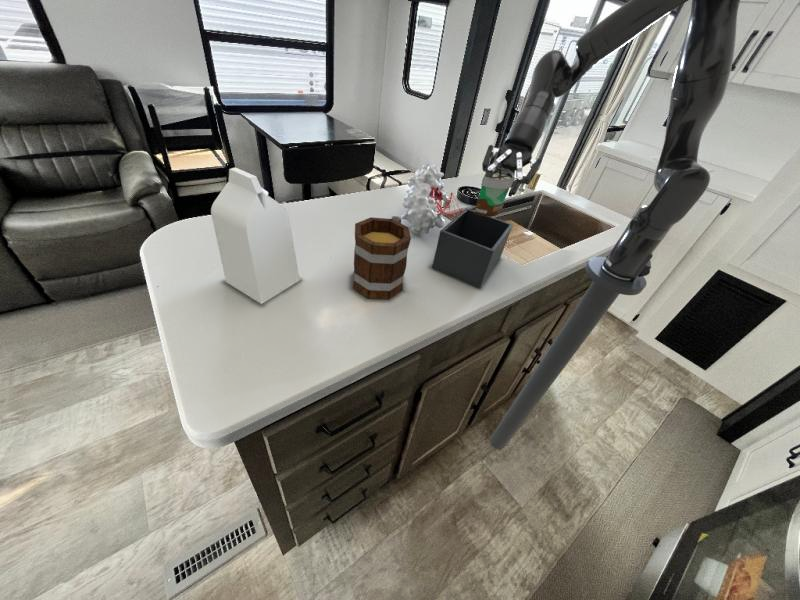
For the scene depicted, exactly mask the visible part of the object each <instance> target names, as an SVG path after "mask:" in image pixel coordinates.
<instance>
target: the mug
mask: <svg viewBox="0 0 800 600" xmlns="http://www.w3.org/2000/svg"><path fill="white" fill-rule="evenodd" d="M411 241H412V236H411V232H410V228H409V227H408V226H407V225H405V224H403V223H402V218H401V217H400V216H397V215H393V216H391V218H383V217H371V216H370V217H369V218H366V219H363V220H360V221H358V222H355V223H354V243H355V244H354V250H353V254H354V255H353V275H352V277H353V278H352V289H353V290H354V291H356V292H357V293H359V295H361V296H363V297H365V298H366V299H368V300H390V299H392V298H394V297H395V296H396V295H398V294H399V293H401V292H402V291H403V287H404V285H403V283H404V277H405V272H406V269H407V260H408V251H409V248H410V247H409V246H410V244H411Z"/></svg>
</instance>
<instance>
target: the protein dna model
mask: <svg viewBox="0 0 800 600" xmlns="http://www.w3.org/2000/svg"><path fill="white" fill-rule="evenodd" d="M444 176H445V174H444V172H441V171H440V169H439V164H438V163H435V164H433V165H432V166H431V164H430V162H426V163H425V164H423V165H422V169H419V168H417V169H415V172H414V174H412V175H410V177H409V178H408V182H407V186H408V189H407V190H406V194H407V195H405V197H403V201H402V206H403V208H404V209H405V212H404V213H403V215H401V217H400V218H401V220H407V221H408V223H409V224H410V226H411V227H412V228H411V231H412V232H413V233H414V234H415V235H416V236H418V235H421V234H425V235H429V234H430V230H431V229H434V228H437V229H443V228H444V227H445V226H446V225H445V224H446V219H445V218H443V215H448V216H450V217H454V218H455V217H457V216H458V214H457V211H456V208H455V205H452V206H453V209H454V213H455V214H452V212H451V209H450V208H448V207H449V206H450V204H451V203H454V201H455V202H456V201H457V199H456V198H455V196H454V193H453V192H450V197H448V196H447V194H448V191H447V189H445V186H444V183H443V181H442V178H443V177H444ZM453 199H454V200H453ZM444 200H445V201H446V202H447V204H446V206H444V208H443V207H442V206H443V203H442V202H443V201H444ZM438 201H439V202H438ZM450 202H451V203H450ZM456 206H457V208H458V211H459V214H460V213H461V212H462V211H463V207H461V208H460V207H459V204H458V203H456ZM447 208H448V210H449V213H447V212H446V209H447ZM436 209H437V210H436Z"/></svg>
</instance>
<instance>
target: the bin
mask: <svg viewBox="0 0 800 600" xmlns="http://www.w3.org/2000/svg"><path fill="white" fill-rule="evenodd" d="M474 213H475V210H473V209H471V208H468V207H466V208H464V209H462V212H461V213H460V212H459V214H457V215H456V216H457V217H455V216H454V218H453V219H452V220H451V221H449V222H448V223H447V224H446V225H444V227H443V228H441V229H440V230H439V236H438V238H437V242H436V247H435V252H434V257H433V261H432V266H431V268H432V269H434V270H436V271H439V272H441V273H443V274H444V275H445V274H446V275H448V276H450V277H452V278H455V279H456V280H459V281H462V282H464V283H467V284H469V285H471V286H473V287H475V288H478V289H481V287H482V286H483V285H484V283H485V282H486V280H487V279H488V277H489V276H490V274H491V273H492V271H493V269H494V268H495V267H496V265H498V262H499V261H500V260H501V258H502V255H503V252H504V249H505V247H506V244H507V242H508V239H509V237H510V234H511V232H512V229H513V226H514V224H513V223H510V222H508V221H505V220H502V219H500V218H496V217H494V216H491V217H489V216H481V215H477V214H474Z"/></svg>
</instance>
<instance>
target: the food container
mask: <svg viewBox="0 0 800 600" xmlns="http://www.w3.org/2000/svg"><path fill="white" fill-rule="evenodd" d="M483 178H484V179H483ZM483 178H482V180H483V181H482V180H481V184H480V185H481V187H480V189H479V190H480V191H479V194H478V198H477V202H476V206H475V210H474V211H475V213H474V214H477V215H481V216H489V217H496V216H498V215H499V214H500V211H501V209H502V207H503V205H504V202H505V200H506V197H507V195H508V194H509V191H510V189H511V187H512V185H513V183H514V181H515V179H516V177H515V173H514V171H511V170H510V169H504V168H503V167H502V168H501V169H500V170H499V171H496V172H493V173H492V174H491V175H490V176H489V177H485V175H483Z"/></svg>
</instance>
